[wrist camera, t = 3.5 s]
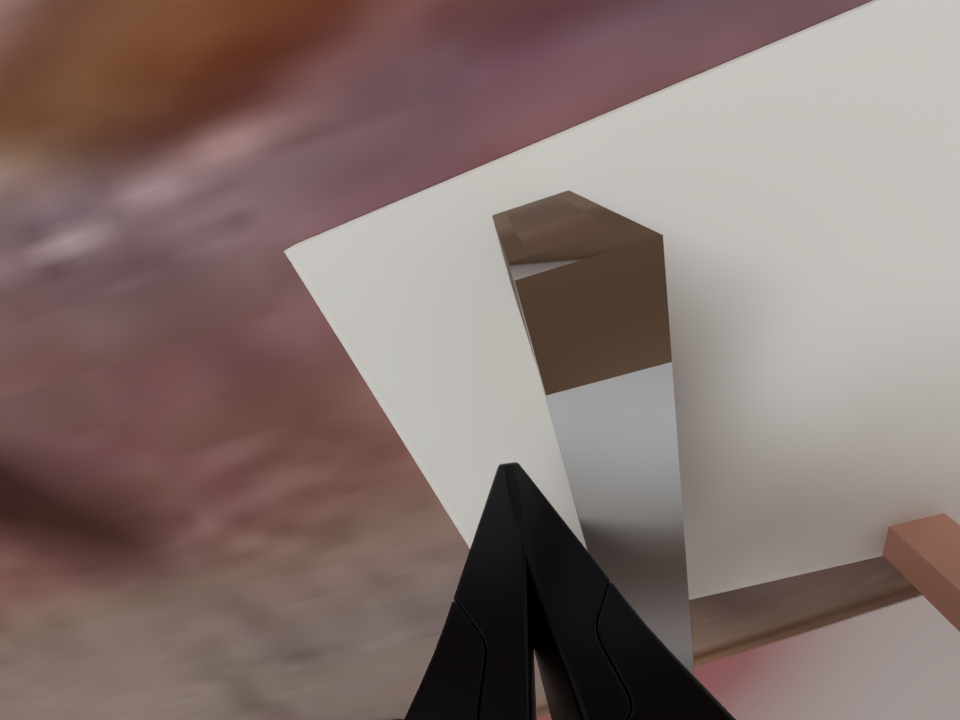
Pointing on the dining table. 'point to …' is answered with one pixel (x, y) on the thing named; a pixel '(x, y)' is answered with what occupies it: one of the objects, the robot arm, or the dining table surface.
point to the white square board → (716, 303)
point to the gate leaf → (608, 391)
